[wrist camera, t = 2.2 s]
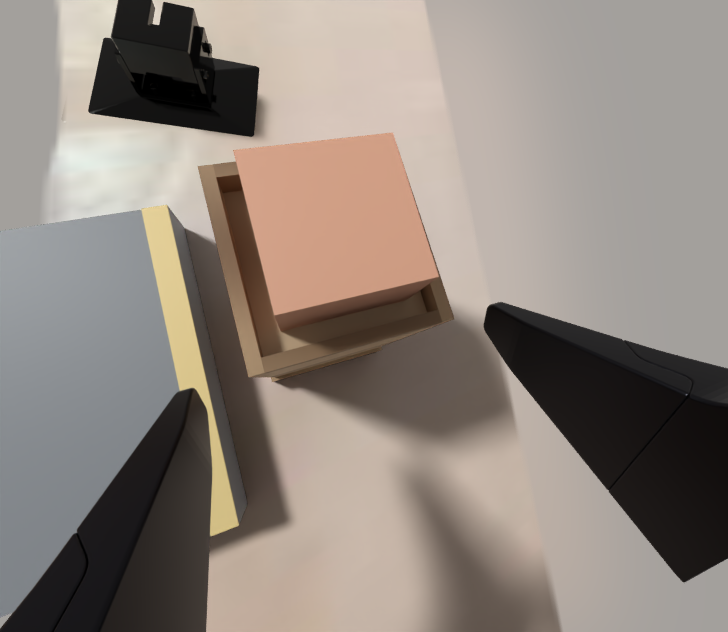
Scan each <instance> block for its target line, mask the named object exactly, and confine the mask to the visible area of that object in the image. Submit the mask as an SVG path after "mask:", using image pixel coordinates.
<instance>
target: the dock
mask: <svg viewBox="0 0 728 632" xmlns="http://www.w3.org/2000/svg"><path fill="white" fill-rule="evenodd" d="M188 388H195V389H196V390H197V392H198V394H199V395H200V397H201V399H202V401H203V403H204V404H205V406H206V409H207V413H208V421H209V433H210V444H211V456H212V496H211V521H210V536H214V535H216V534H219V533H221V532H224V531H226V530H229V529H232V528H234V527H237V526H239V524H240V521H241V519H242V516H243V514H244V511H245V509H246V506H247V500H246V495H245V491H244V487H243V482H242V478H241V474H240V469H239V465H238V460H237V456H236V452H235V447H234V443H233V439H232V434H231V430H230V426H229V421H228V417H227V412H226V408H225V404H224V399H223V395H222V391H221V386H220V382H219V378H218V373H217V369H216V364H215V360H214V356H213V351H212V347H211V343H210V338H209V334H208V330H207V325H206V321H205V316H204V312H203V308H202V303H201V299H200V295H199V290H198V286H197V282H196V277H195V273H194V268H193V264H192V260H191V255H190V251H189V247H188V242H187V238H186V233H185V229H184V227H183V225H182V224H181V223H180V221H179V220H178V219H177V218H176V216H175V215H174V214H173V212H172V211H171V210H170V208H169V207H168V206H167V205H163V206H156V207H149V208H143V209H141V210H137V211H130V212H123V213H117V214H110V215H103V216H97V217H90V218H83V219H77V220H70V221H63V222H57V223H50V224H43V225H37V226H30V227H23V228H17V229H10V230H4V231H0V617H3V616H5V615H8V614H10V613H13V612H14V611H15V610H16V608H17V607H18V606H19V605H20V603H21V602H22V601H23V600H24V598H25V597H26V596H27V595H28V593H29V592H30V591H31V590H32V588H33V587H34V586H35V585H36V583H37V582H38V581H39V579H40V578H41V577H42V575H43V574H44V573H45V571H46V570H47V569H48V567H49V566H50V565H51V563H52V562H53V561H54V559H55V558H56V557H57V555H58V554H59V553H60V551H61V550H62V549H63V547H64V546H65V544H66V543H67V542H68V540H69V539H70V538H71V536H72V535H73V534H74V533H77V528H78V527H79V525H80V524H81V523H82V521H83V520H84V519H85V517H86V516H87V514H88V513H89V512H90V510H91V509H92V508H93V506H94V505H95V503H96V502H97V501H98V499H99V498H100V497H101V495H102V494H103V492H104V491H105V490H106V488H107V487H108V486H109V484H110V483H111V481H112V480H113V479H114V477H115V476H116V475H117V473H118V472H119V470H120V469H121V468H122V466H123V465H124V463H125V462H126V461H127V459H128V458H129V457H130V455H131V454H132V452H133V451H134V450H135V448H136V447H137V446H138V444H139V443H140V441H141V440H142V439H143V437H144V436H145V435H146V433H147V432H148V430H149V429H150V428H151V426H152V425H153V424H154V422H155V421H156V419H157V418H158V417H159V415H160V414H161V413H162V411H163V410H164V408H165V407H166V406H167V404H168V403H169V402H170V400H171V399H172V397H173V396H174V395H175V394H176V393H177V392H178V391H181V390H185V389H188Z"/></svg>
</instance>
